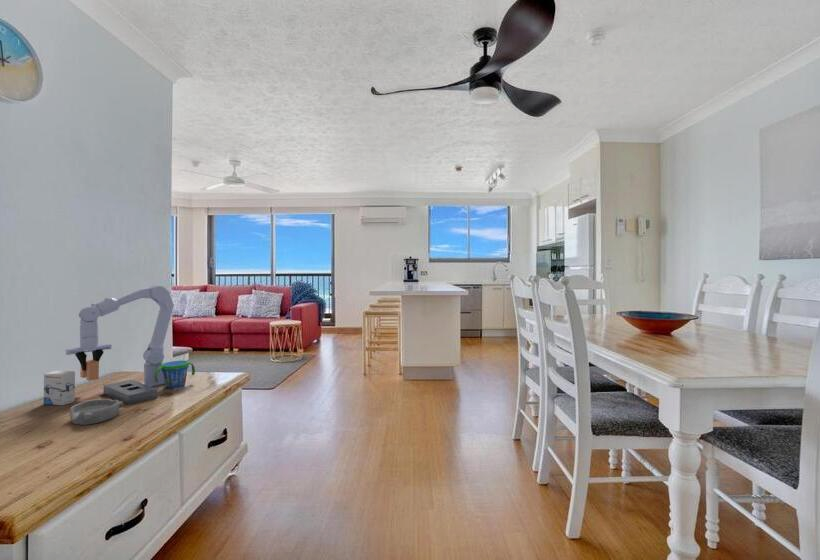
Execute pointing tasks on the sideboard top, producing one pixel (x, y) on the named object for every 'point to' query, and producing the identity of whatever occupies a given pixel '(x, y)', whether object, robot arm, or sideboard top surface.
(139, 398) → the grey slotted block
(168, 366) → the snack cup
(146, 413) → the sideboard top surface
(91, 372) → the tan rectangular block
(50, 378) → the ink box
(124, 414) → the sideboard top surface
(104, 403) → the dish
